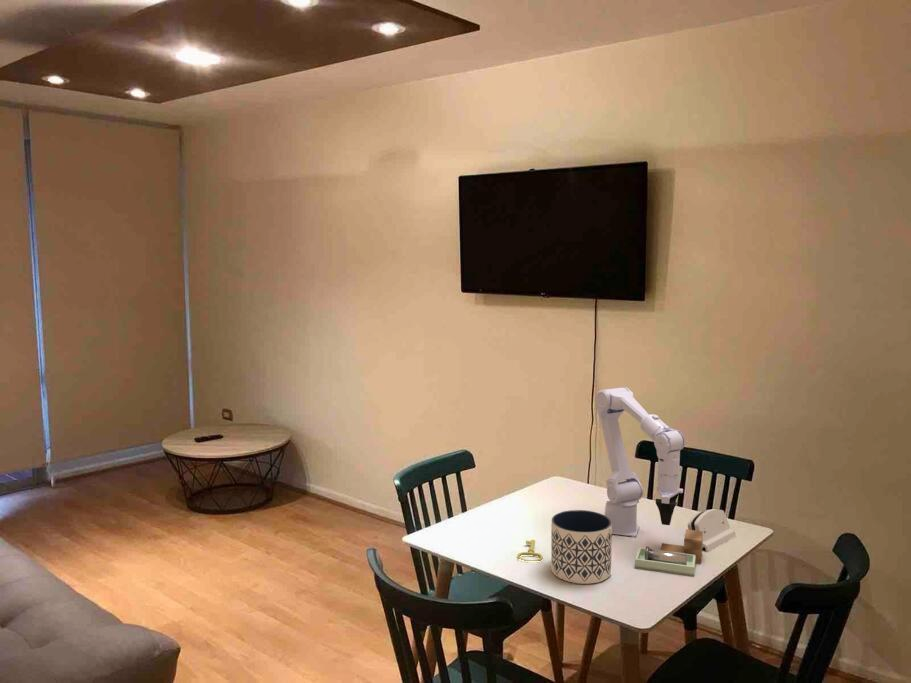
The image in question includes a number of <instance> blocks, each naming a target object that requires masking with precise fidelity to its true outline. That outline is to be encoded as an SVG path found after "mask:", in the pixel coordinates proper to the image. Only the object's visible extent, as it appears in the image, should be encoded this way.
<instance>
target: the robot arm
mask: <svg viewBox="0 0 911 683" xmlns="http://www.w3.org/2000/svg"><path fill="white" fill-rule="evenodd" d="M594 402H595V406H596V410H597V414H598V418H599V421H600V426H601V431H602V435H603V438H604V439H603V440H604V443H605V447H606V452H607V455H608V459H609V465H610V468H611V474H610V475H609V477H608V478H607V479H606V495H607V499H608V500H607V501H606V503H605V508H604V515H605V516H607V517H608V518H609V519H610V520H611V522H612V535H618V536H628V537H637V536H638V532H639V529H640V526H639V525H637V524H638V523H637V521H638V520H637V517H638V516H637V515H638V512H637V511H638V504H639V503H640V500H641V499H642V497H643V495H644V488H643V485H642V483H641V482H640V479H639V476H638V474H637V473H635V472H634V471H632V470H631V469H630V465H629V461H628V456H627V453H626V449H625V444H624V440H623V436H622V432H621V427H620V423H619V419H620V417H621V415H622V414H624V413H625V412H626V413H627V414H629V415H630V416H631V417H632V418H634V419H635V420H636V421H637V422H639V423H640V429H641V430H642V431H643V433H644V434H646V435H647V436H648V437H649V438H650V439H651V440H652V441H653V444H654V447H655V450H656V456H657V458H658V459H657V460H658V463H657V464H658V466H657V467H658V468H657V486H656V491H657V493H658V495H660V496H661V498H655V505H656V506H657V510H658V511H659V518H660V522H661V525H663V526H670V525H671V522H672V518H673V517H672V516H673V514H674V511H675V508H676V506H677V504H678V502H677V499H678V497H679V495H680V494H683V493H684V489H683V488H680V463H681V462H680V461H681V459H680V458H681V450H683V449H684V447H685V445H686V440H685V436H684V435H683V432H681V431H680V430H679V429H673V428H671V427H670V426H669V425H667V424H666V423H664V421H662V419H660V417H659V415H658V414H653V413H651V414H649V413H648V412H647V410H646V409H644V407H643V406H642V405H641V404H640V403H639V402H638V401H637V399H635V396H634V392H633V391H631V390H630V389H629V387H627V386H621V387H616V388H615V387H614V388H608V389H605V388H603V389H600V390H599V391H598V392H597V393H596V396H595V397H594ZM624 480H625V481H624Z"/></svg>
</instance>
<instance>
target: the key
mask: <svg viewBox="0 0 911 683" xmlns="http://www.w3.org/2000/svg"><path fill="white" fill-rule="evenodd" d="M525 544H527V545H528V544H529V549H528V550H527V551H522V552H518V554H517V555H516V559H517V558H518V559H521V560H524V561H541V560H542V559H543V560H544V556H543V555H542V553H539V552H535V545H536V540H535V539H531V540H526V541H525ZM521 555H533V556H532V557H534V556H538V557H540V558H538V557H537V559H526V558H523V557H520V556H521ZM518 559H517V560H518ZM541 562H542V561H541Z"/></svg>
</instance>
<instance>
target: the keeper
mask: <svg viewBox="0 0 911 683" xmlns="http://www.w3.org/2000/svg"><path fill="white" fill-rule="evenodd" d="M702 539H703V531H696V530H688V529H685V532H684V541H683V542H684V543H683V545H679V544H673V543H665V542H662V543H661V544H660V546H661V547H660V549H659V550H662V551H670V552H677V553H685V554H692V555H696V563H695V564H699V565H700V564H702V558H703V557H702V556H703V547H702Z"/></svg>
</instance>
